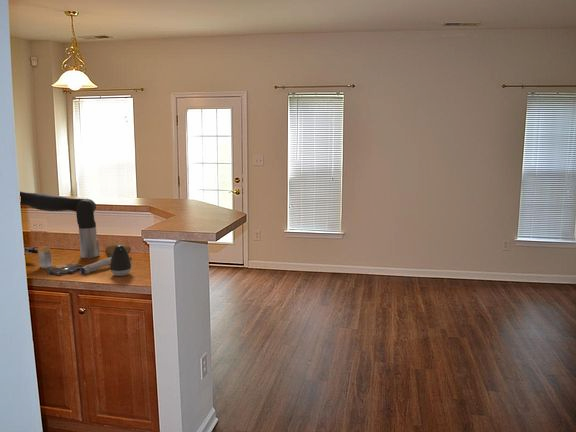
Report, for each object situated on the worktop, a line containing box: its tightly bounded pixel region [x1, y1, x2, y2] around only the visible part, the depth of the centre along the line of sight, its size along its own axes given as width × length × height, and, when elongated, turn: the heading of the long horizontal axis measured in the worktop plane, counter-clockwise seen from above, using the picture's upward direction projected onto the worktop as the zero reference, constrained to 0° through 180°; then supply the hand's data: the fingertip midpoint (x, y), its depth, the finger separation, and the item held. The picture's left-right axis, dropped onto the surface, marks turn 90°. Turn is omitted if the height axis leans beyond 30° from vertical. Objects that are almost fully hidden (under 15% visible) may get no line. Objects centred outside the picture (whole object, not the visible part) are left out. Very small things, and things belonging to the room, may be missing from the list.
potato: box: [105, 243, 132, 258], centre depth 272 cm, size 9×16×9 cm, turn 144°
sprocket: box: [46, 263, 82, 277], centre depth 249 cm, size 17×17×2 cm
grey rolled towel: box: [79, 257, 111, 276], centre depth 253 cm, size 5×7×25 cm
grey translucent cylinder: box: [37, 245, 53, 269], centre depth 255 cm, size 4×4×11 cm
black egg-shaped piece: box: [109, 245, 132, 277], centre depth 241 cm, size 10×10×15 cm
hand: (30, 253), depth 258 cm, fingers open, 8 cm apart
